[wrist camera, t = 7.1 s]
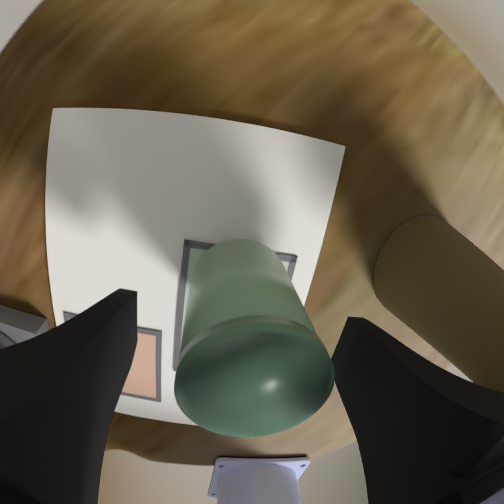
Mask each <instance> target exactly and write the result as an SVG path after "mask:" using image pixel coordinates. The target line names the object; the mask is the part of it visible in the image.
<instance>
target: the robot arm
mask: <svg viewBox="0 0 504 504" xmlns="http://www.w3.org/2000/svg"><path fill="white" fill-rule="evenodd" d="M137 342H138V334H137V291H133V290H128V289H122V288H119V289H118V290H116V291H114V292H112V293H111V294H109V295H108V296H106V297H105V298H103V299H102V300H100V301H99V302H97V303H95V304H94V305H92V306H91V307H89V308H88V309H86V310H84V311H83V312H81V313H80V314H78V315H76V316H74V317H73V318H71V319H69V320H67V321H66V322H64V323H62V324H60V325H59V326H57V327H55V328H53V329H51V330H49V331H47V332H44V333H42V334H40V335H38V336H35V337H33V338H31V339H28V340H26V341H23V342H20V343H17V344H14V345H11V346H8V347H5V348H2V349H0V504H97V503H98V493H99V483H100V475H101V469H102V461H103V456H104V450H105V445H106V440H107V436H108V431H109V427H110V423H111V420H112V417H113V414H114V411H115V408H116V406H117V403H118V400H119V397H120V395H121V392H122V390H123V387H124V384H125V382H126V379H127V376H128V374H129V371H130V369H131V366H132V362H133V358H134V354H135V350H136V346H137ZM331 361H332V363H333V366H334V370H335V383H336V386H337V389H338V391H339V394H340V397H341V399H342V402H343V404H344V407H345V409H346V412H347V414H348V417H349V419H350V422H351V424H352V427H353V430H354V432H355V435H356V438H357V442H358V445H359V450H360V454H361V458H362V463H363V468H364V474H365V479H366V486H367V494H368V503H369V504H504V393H503V392H499V391H496V390H492V389H489V388H486V387H483V386H480V385H477V384H475V383H472V382H470V381H467V380H464V379H462V378H460V377H458V376H456V375H454V374H452V373H450V372H448V371H446V370H444V369H442V368H440V367H438V366H437V365H435V364H433V363H432V362H430V361H428V360H427V359H425V358H424V357H422V356H420V355H419V354H417V353H416V352H414V351H413V350H411V349H410V348H408V347H407V346H405V345H404V344H402V343H401V342H400V341H398V340H397V339H395V338H394V337H392V336H391V335H390V334H388V333H387V332H385V331H384V330H382V329H381V328H379V327H378V326H376V325H375V324H373V323H372V322H370V321H368V320H366V319H364V318H360V317H348V318H347V321H346V324H345V326H344V329H343V331H342V334H341V336H340V339H339V341H338V344H337V346H336V349H335V351H334V353H333V356H332V358H331ZM310 462H311V461H310V458H308V457H301V458H275V459H250V458H224V457H220V458H217V459H216V462H215V466H214V470H213V474H212V479H211V483H210V487H209V491H208V498H210V499H217V504H302V500H301V495H300V491H299V486H298V481H297V480H298V479H299V477H300V476H301V474H302V473H303V472H304V470H305V469H306V468H307V466H308V465H309V463H310Z"/></svg>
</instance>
